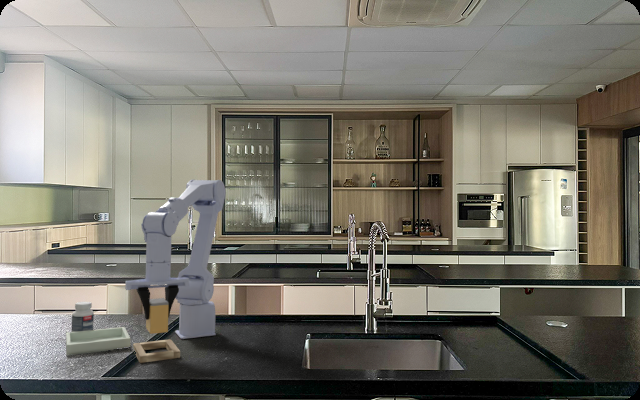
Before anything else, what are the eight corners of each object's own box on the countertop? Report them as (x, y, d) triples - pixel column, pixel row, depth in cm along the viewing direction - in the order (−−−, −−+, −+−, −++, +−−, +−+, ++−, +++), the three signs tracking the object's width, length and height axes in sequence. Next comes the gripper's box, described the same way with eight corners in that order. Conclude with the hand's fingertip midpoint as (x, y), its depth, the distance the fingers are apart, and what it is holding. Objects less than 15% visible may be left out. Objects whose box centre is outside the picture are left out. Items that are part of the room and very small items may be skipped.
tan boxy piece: (162, 326, 117) (163, 298, 118) (167, 331, 112) (168, 302, 112) (146, 327, 115) (146, 299, 116) (150, 333, 110) (151, 303, 110)
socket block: (170, 345, 121) (170, 339, 121) (180, 357, 111) (180, 351, 111) (133, 349, 116) (133, 343, 116) (139, 363, 107) (139, 356, 107)
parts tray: (124, 336, 128) (124, 326, 128) (130, 348, 117) (130, 338, 117) (65, 342, 121) (66, 332, 121) (66, 355, 111) (66, 345, 111)
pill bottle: (84, 339, 124) (85, 305, 124) (66, 337, 125) (67, 304, 125) (97, 334, 129) (98, 301, 130) (80, 332, 131) (81, 300, 131)
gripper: (128, 264, 107) (127, 324, 107) (192, 262, 114) (191, 318, 114) (124, 261, 113) (123, 317, 113) (185, 259, 120) (184, 312, 120)
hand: (157, 317), depth 114 cm, fingers closed on tan boxy piece, 4 cm apart
